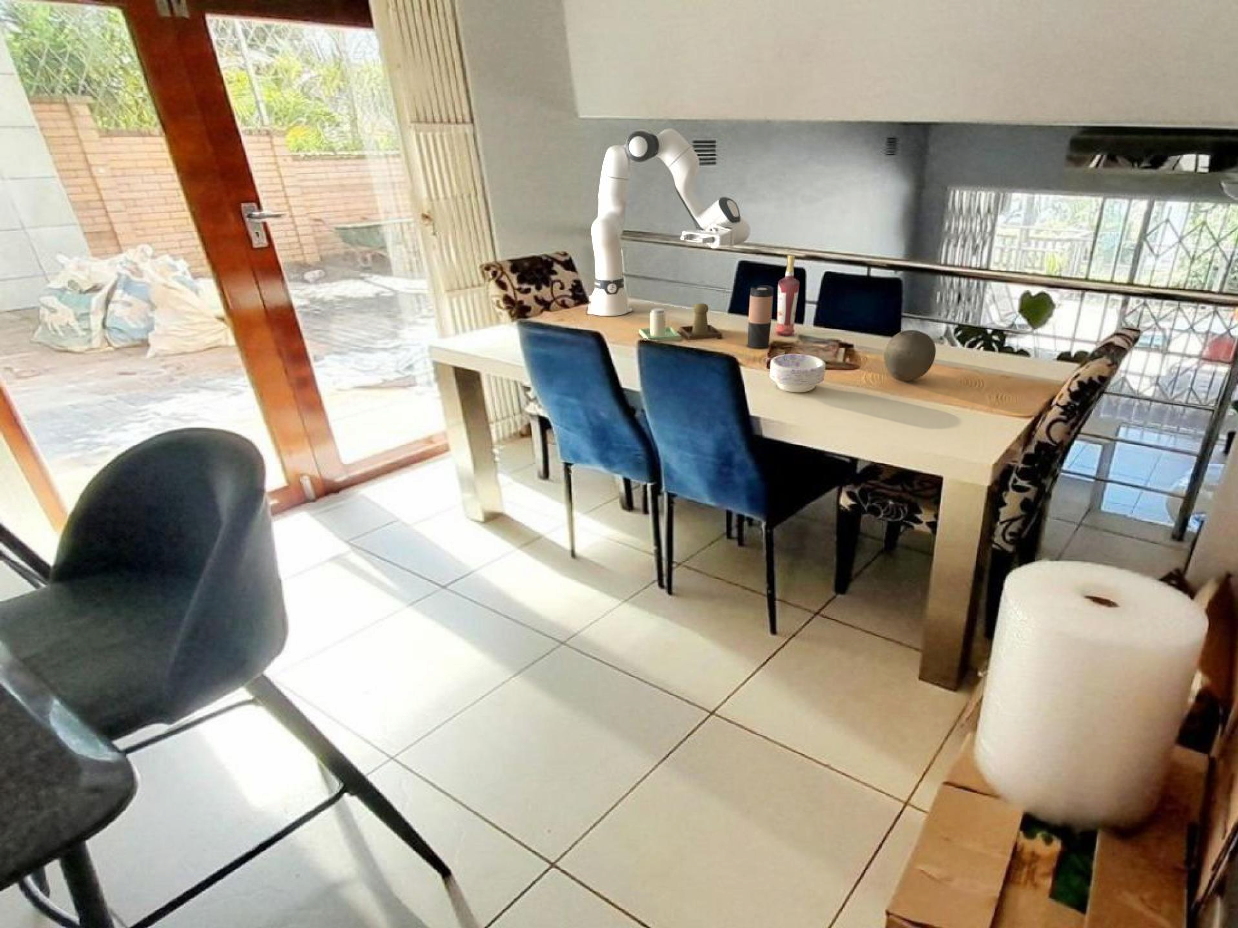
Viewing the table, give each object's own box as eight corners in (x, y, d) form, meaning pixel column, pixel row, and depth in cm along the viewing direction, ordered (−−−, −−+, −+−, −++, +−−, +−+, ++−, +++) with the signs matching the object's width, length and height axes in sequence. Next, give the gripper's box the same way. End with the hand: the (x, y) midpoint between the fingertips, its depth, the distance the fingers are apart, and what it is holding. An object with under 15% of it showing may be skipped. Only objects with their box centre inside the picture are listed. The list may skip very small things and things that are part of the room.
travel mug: (767, 349, 239) (772, 290, 230) (745, 348, 241) (748, 289, 232) (770, 343, 245) (775, 286, 237) (748, 342, 248) (752, 285, 239)
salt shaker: (648, 335, 256) (648, 308, 252) (663, 334, 257) (663, 307, 253) (652, 339, 252) (652, 311, 247) (667, 338, 252) (667, 310, 248)
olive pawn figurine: (688, 333, 259) (689, 303, 254) (703, 331, 261) (704, 301, 256) (697, 336, 254) (698, 306, 249) (711, 334, 256) (712, 304, 251)
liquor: (796, 336, 253) (804, 256, 241) (776, 337, 253) (782, 257, 241) (792, 331, 260) (799, 253, 248) (772, 332, 260) (778, 254, 248)
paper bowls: (798, 400, 193) (801, 372, 190) (757, 386, 205) (759, 360, 201) (834, 388, 201) (837, 362, 198) (793, 376, 213) (795, 350, 209)
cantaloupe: (872, 375, 212) (878, 326, 206) (917, 373, 213) (925, 324, 206) (891, 390, 199) (899, 338, 193) (940, 388, 200) (949, 336, 194)
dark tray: (679, 332, 262) (679, 326, 261) (710, 329, 264) (710, 324, 263) (689, 341, 250) (689, 335, 250) (721, 338, 253) (722, 333, 252)
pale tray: (639, 334, 261) (639, 329, 260) (671, 332, 263) (671, 326, 262) (647, 343, 249) (647, 338, 248) (680, 341, 251) (680, 335, 250)
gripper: (697, 225, 271) (671, 228, 263) (737, 229, 257) (712, 232, 248) (696, 242, 273) (671, 245, 265) (736, 247, 259) (711, 251, 251)
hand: (691, 239), depth 257 cm, fingers open, 8 cm apart
